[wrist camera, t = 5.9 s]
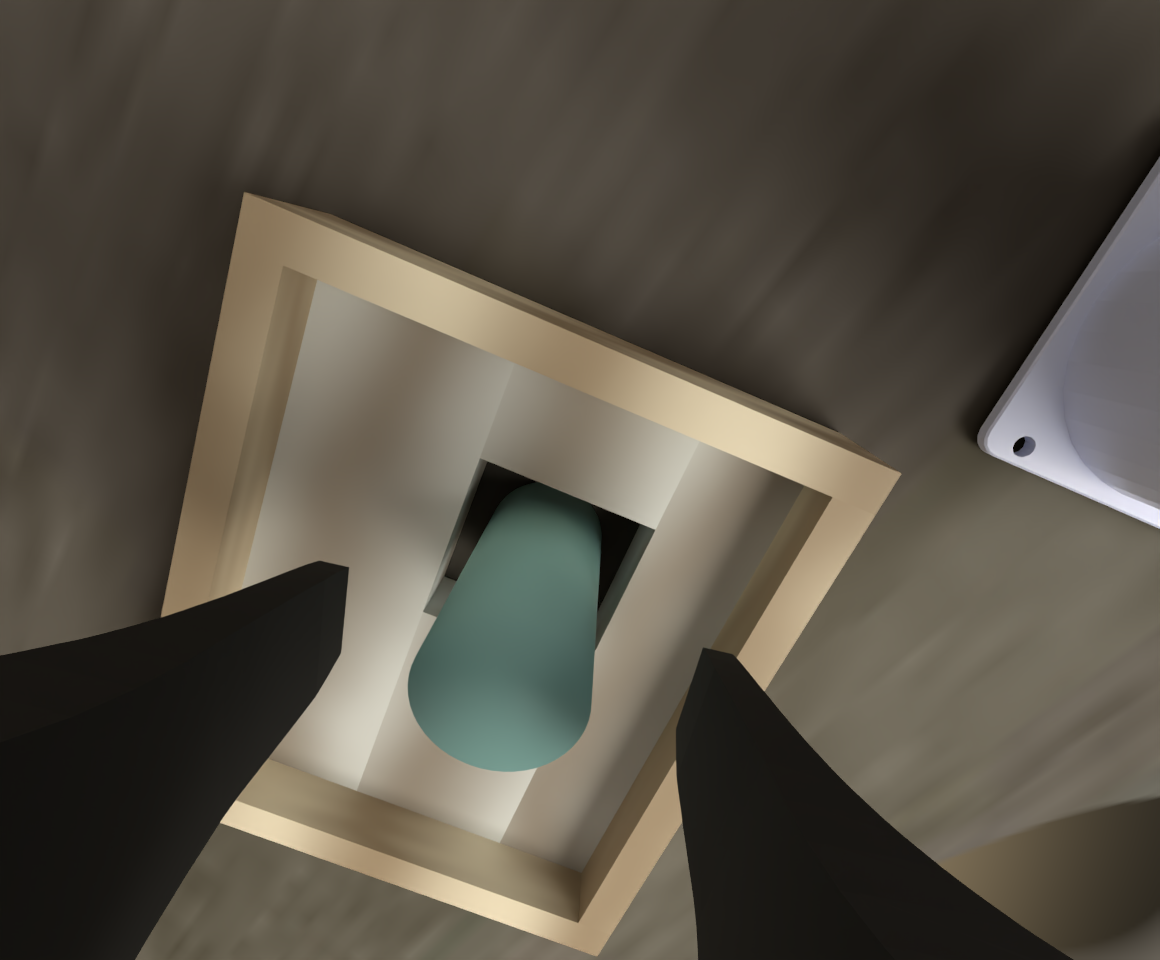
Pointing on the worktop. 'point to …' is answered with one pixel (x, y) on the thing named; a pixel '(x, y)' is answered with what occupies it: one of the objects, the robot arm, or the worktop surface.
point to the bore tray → (432, 528)
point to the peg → (515, 638)
